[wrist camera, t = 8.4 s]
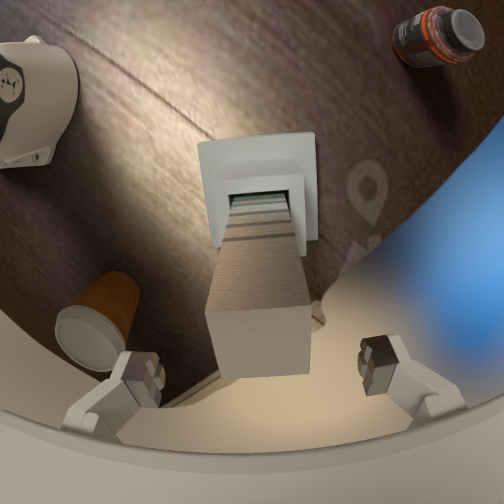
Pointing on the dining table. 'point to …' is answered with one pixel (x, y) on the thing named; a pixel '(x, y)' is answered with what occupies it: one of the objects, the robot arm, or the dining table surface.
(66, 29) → the dining table surface
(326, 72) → the dining table surface
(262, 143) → the stand base
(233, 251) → the column
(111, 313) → the disposable coffee cup
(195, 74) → the dining table surface
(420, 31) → the supplement bottle
